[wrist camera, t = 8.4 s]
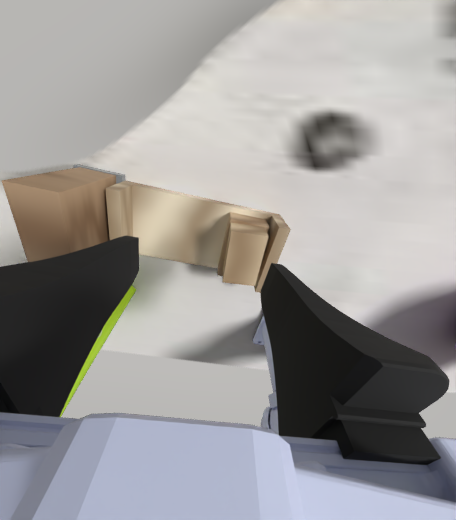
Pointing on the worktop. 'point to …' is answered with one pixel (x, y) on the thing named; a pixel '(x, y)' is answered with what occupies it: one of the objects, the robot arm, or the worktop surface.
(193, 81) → the worktop surface
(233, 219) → the offcut lower
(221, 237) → the tan wooden stepped block
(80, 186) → the tall offcut
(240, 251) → the offcut upper
